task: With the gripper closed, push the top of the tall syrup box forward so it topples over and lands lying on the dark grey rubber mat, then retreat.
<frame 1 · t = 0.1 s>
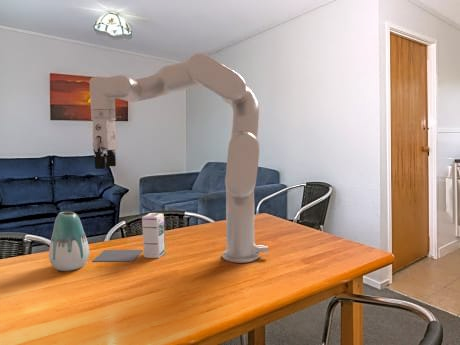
hand: (106, 167, 113), 31 cm above the table, fingers open, 9 cm apart
mat: (118, 255, 118), on the table
vase: (70, 267, 108), on the table
syrup box: (154, 255, 118), on the table
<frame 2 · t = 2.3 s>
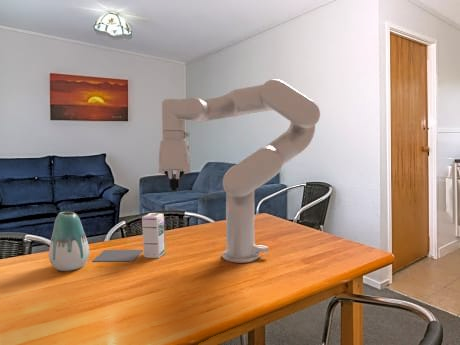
hand: (174, 190, 116), 23 cm above the table, fingers closed
nothing on the table moved.
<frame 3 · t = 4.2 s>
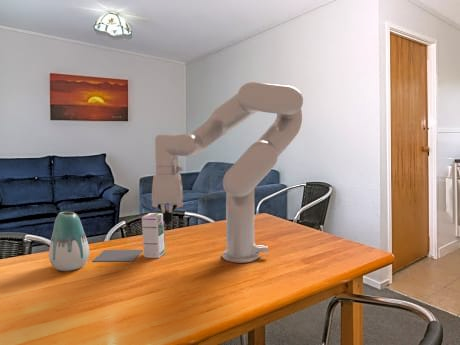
hand: (167, 223, 117), 11 cm above the table, fingers closed
syrup box: (154, 255, 118), on the table, touching gripper
everything else where it was.
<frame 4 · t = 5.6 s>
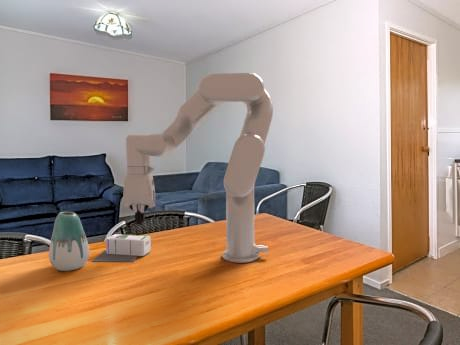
hand: (140, 223, 117), 11 cm above the table, fingers closed
syrup box: (147, 246, 118), point 3 cm above the table, touching mat
everything else where it was.
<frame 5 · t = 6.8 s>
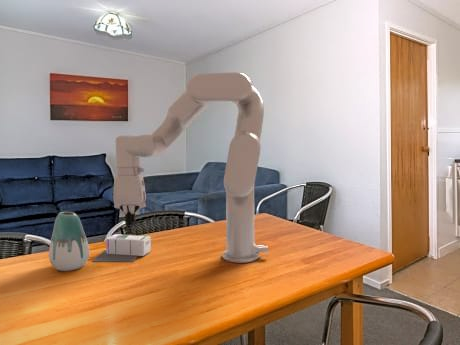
hand: (130, 224, 117), 11 cm above the table, fingers closed
nothing on the table moved.
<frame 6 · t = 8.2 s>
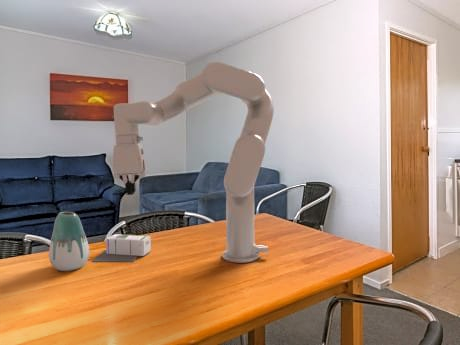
hand: (130, 194, 116), 22 cm above the table, fingers closed
nothing on the table moved.
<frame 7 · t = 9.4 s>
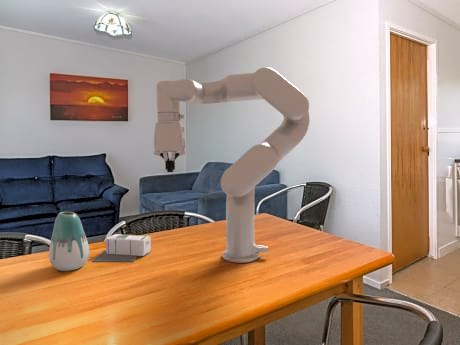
hand: (170, 171, 117), 29 cm above the table, fingers closed
nothing on the table moved.
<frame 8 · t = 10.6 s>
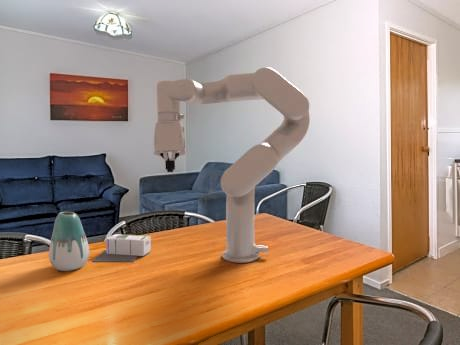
hand: (170, 171, 117), 29 cm above the table, fingers closed
nothing on the table moved.
at the end: syrup box tilted 89°; syrup box inside the target area (7.2 cm from its centre), point 3.1 cm above the table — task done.
